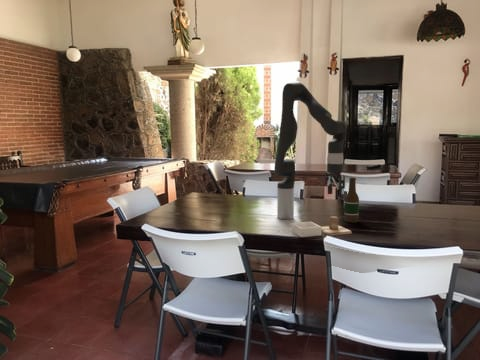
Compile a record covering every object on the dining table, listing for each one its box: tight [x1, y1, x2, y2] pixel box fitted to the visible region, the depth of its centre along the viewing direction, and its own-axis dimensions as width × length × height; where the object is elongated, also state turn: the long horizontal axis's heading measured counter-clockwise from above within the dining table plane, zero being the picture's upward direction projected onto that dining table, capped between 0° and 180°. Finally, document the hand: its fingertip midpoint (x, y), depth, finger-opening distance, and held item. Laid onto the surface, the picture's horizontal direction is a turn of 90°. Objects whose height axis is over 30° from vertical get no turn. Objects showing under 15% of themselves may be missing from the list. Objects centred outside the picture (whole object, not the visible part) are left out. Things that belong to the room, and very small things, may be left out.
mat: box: [321, 231, 351, 236], centre depth 189 cm, size 14×12×1 cm
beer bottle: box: [343, 176, 360, 224], centre depth 206 cm, size 8×8×24 cm
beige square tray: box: [291, 221, 322, 238], centre depth 185 cm, size 11×11×4 cm
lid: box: [321, 215, 352, 236], centre depth 189 cm, size 12×12×7 cm
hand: (334, 195), depth 187 cm, fingers open, 8 cm apart
